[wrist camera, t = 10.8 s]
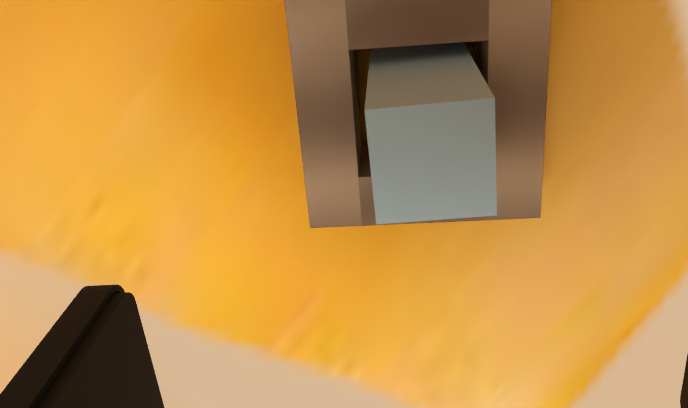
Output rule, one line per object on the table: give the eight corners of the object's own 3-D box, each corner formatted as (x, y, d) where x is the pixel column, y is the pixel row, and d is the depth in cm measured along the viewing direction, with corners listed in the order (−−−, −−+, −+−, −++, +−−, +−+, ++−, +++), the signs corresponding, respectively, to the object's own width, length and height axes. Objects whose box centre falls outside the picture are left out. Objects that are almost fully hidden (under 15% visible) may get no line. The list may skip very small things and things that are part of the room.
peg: (371, 46, 29) (364, 109, 20) (460, 37, 29) (494, 97, 20) (379, 130, 31) (376, 224, 22) (463, 122, 30) (497, 215, 21)
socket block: (296, -19, 28) (283, -8, 25) (531, -37, 27) (553, -28, 24) (318, 191, 32) (310, 227, 29) (522, 181, 31) (540, 217, 28)
